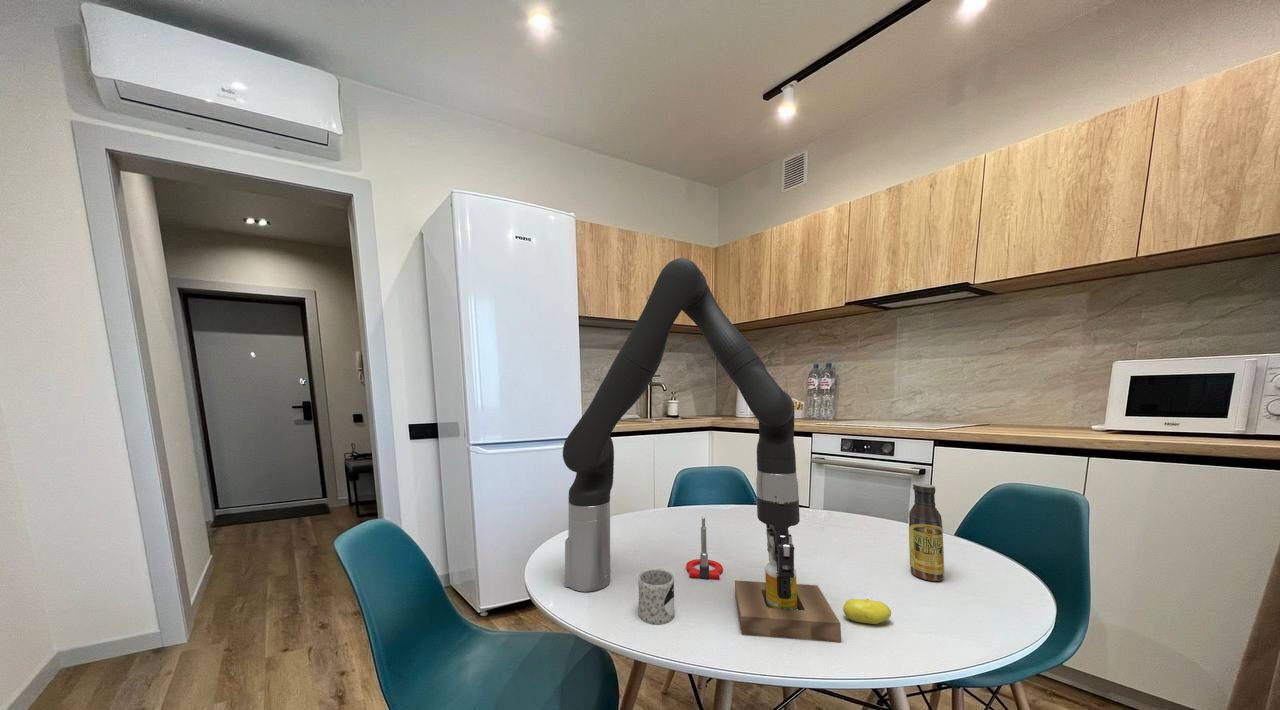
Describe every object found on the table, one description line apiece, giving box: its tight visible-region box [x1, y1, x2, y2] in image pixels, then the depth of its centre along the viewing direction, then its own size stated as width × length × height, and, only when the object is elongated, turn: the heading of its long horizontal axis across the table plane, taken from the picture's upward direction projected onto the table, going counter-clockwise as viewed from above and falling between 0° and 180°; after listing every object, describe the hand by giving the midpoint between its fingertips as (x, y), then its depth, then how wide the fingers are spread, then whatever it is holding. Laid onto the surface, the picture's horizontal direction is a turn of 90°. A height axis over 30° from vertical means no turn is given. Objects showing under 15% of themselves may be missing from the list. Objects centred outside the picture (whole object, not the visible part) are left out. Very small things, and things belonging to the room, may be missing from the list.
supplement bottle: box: [764, 551, 797, 610], centre depth 73 cm, size 5×5×10 cm
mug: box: [638, 568, 675, 626], centre depth 76 cm, size 10×7×7 cm
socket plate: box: [734, 580, 842, 643], centre depth 73 cm, size 16×13×3 cm
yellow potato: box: [842, 598, 892, 625], centre depth 71 cm, size 4×8×4 cm, turn 79°
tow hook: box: [685, 516, 724, 580], centre depth 93 cm, size 8×13×9 cm
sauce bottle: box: [908, 482, 945, 582], centre depth 89 cm, size 6×6×20 cm
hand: (780, 588), depth 73 cm, fingers closed on supplement bottle, 5 cm apart
